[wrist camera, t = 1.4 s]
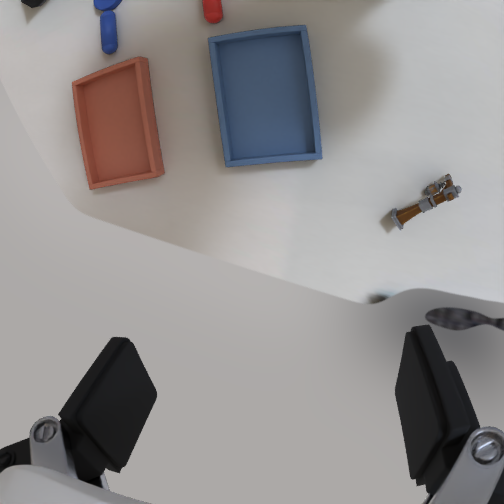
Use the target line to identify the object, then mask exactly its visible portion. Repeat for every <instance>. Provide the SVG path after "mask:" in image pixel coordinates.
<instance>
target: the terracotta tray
mask: <svg viewBox="0 0 504 504" xmlns="http://www.w3.org/2000/svg"><path fill="white" fill-rule="evenodd" d="M72 89H73V97H74V105H75V113H76V120H77V126H78V133H79V138H80V144H81V150H82V155H83V160H84V165H85V170H86V175H87V180H88V184H89V188H90V190H91V189H96V188H101V187H105V186H111V185H116V184H121V183H126V182H132V181H137V180H143V179H149V178H155V177H158V176H160V175H162V174H164V173H165V172H164V167H163V161H162V155H161V150H160V144H159V138H158V131H157V125H156V119H155V112H154V105H153V98H152V91H151V83H150V75H149V67H148V59H147V58H143V57H136V58H133V59H130V60H127V61H124V62H121V63H118V64H116V65H113V66H110V67H107V68H105V69H102V70H100V71H97V72H95V73H92V74H90V75H88V76H85V77H83V78H80V79H78V80H76V81H74V82H72Z"/></svg>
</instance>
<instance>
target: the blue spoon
mask: <svg viewBox="0 0 504 504" xmlns="http://www.w3.org/2000/svg"><path fill="white" fill-rule="evenodd" d="M121 1H122V0H94V6H95V7H96V8H97V9H99V10H102V11H105V12H103V13H102V14H101V16H100V28H101V43H102V50H103V52H104V53H106V54H111V53H113V52H115V51H116V49H117V46H118V44H117V32H116V17H115V13H114V12H113V11H111V10H112V9H114V8H115V7H117V6H118V5H119V4H120V2H121Z"/></svg>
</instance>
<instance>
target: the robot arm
mask: <svg viewBox="0 0 504 504" xmlns="http://www.w3.org/2000/svg"><path fill="white" fill-rule="evenodd" d="M395 396H396V401H397V405H398V411H399V415H400V420H401V425H402V431H403V436H404V441H405V447H406V453H407V459H408V465H409V472H410V477H411V479H416V484H417V486H420V485H424V484H425V485H426V491H427V493H429V494H428V496H427V497H426V499H425V500H424V502H423V503H422V504H504V432H503V431H502V430H500V429H498V428H496V427H490V426H489V427H482V428H480V425H479V422H478V419H477V417H476V414H475V411H474V409H473V406H472V404H471V401H470V398H469V396H468V393H467V391H466V389H465V386H464V383H463V381H462V379H461V377H460V374H459V372H458V369H457V367H456V366H455V364H454V362H452V361H447V362H446V360H445V358H444V355H443V353H442V351H441V348H440V346H439V344H438V341H437V339H436V337H435V335H434V333H433V331H432V329H431V327H430V325H422V326H415V327H412V329H411V332H407V333H406V336H405V341H404V347H403V353H402V358H401V363H400V368H399V373H398V378H397V382H396V387H395ZM156 398H157V391H156V389H155V387H154V385H153V383H152V381H151V379H150V377H149V375H148V373H147V371H146V369H145V367H144V365H143V363H142V361H141V359H140V357H139V354H138V352H137V350H136V348H135V346H134V344H133V343H132V342H130V340H129V339H128V338H124V337H113V338H111V339H110V341H109V342H108V343H107V345H106V346H105V348H104V349H103V350H102V352H101V353H100V354H99V356H98V357H97V359H96V360H95V361H94V363H93V364H92V366H91V367H90V369H89V370H88V371H87V373H86V374H85V376H84V377H83V378H82V380H81V381H80V383H79V384H78V386H77V387H76V389H75V390H74V392H73V393H72V395H71V396H70V398H69V399H68V400H67V402H66V403H65V405H64V407H63V408H62V410H61V411H60V412H59V414H58V415H59V416H60V417H61V420H60V421H59V420H58V419H57V418H55V417H53V416H47V417H43V418H41V419H39V420H38V421H36V422H35V424H34V425H33V426H32V428H31V430H30V438H27V439H25V440H22V441H20V442H17V443H14V444H12V445H9V446H6V447H4V448H2V449H0V504H151V503H147V502H143V501H140V500H136V499H133V498H129V497H126V496H123V495H120V494H117V493H114V492H111V491H110V490H109V487H108V484H107V481H106V477H105V474H104V470H105V468H107V469H108V470H111V471H114V472H117V473H120V471H121V469H122V467H124V466H126V464H127V462H128V460H129V457H130V455H131V453H132V451H133V449H134V446H135V444H136V442H137V440H138V438H139V435H140V433H141V431H142V429H143V426H144V425H145V422H146V420H147V418H148V416H149V414H150V411H151V409H152V407H153V405H154V403H155V401H156Z"/></svg>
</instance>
